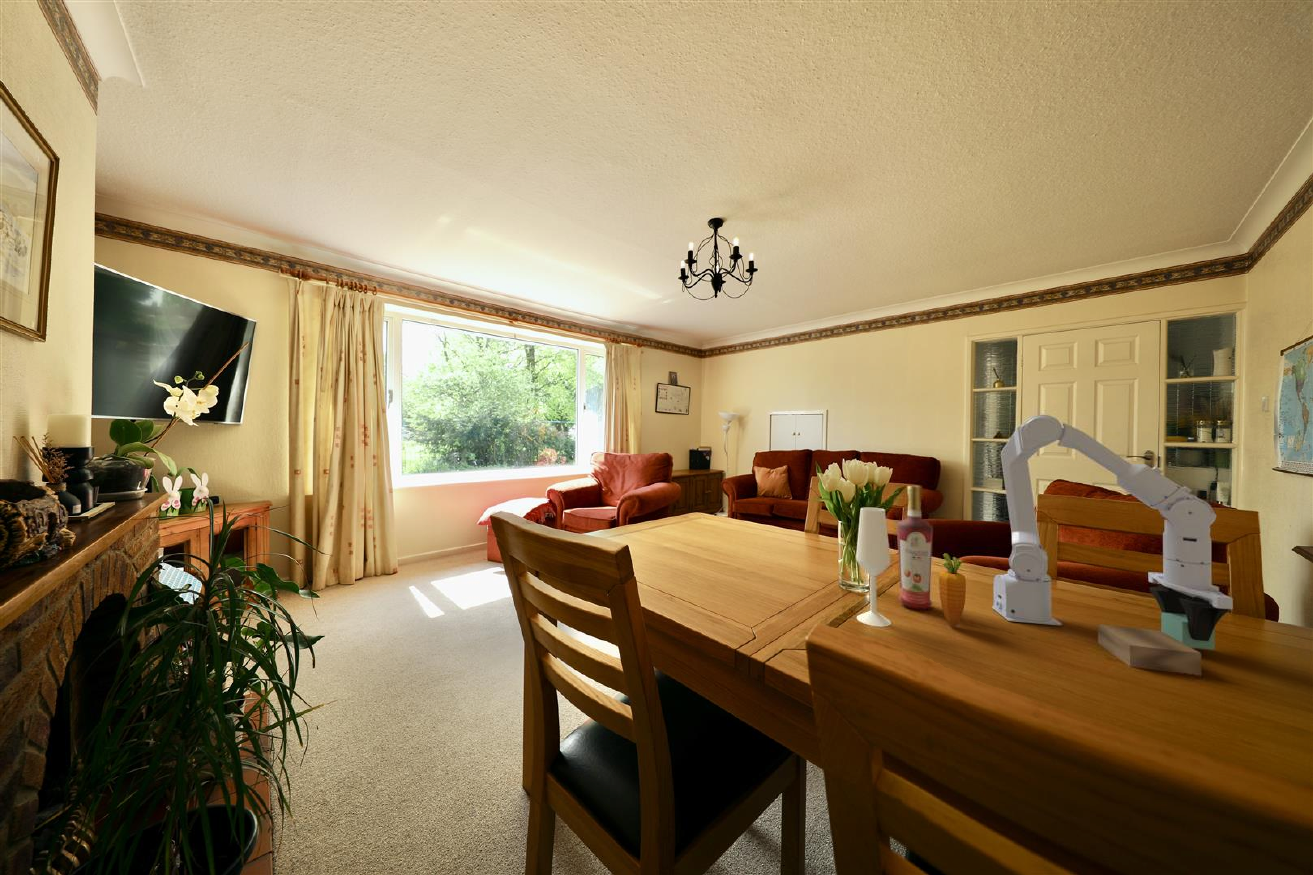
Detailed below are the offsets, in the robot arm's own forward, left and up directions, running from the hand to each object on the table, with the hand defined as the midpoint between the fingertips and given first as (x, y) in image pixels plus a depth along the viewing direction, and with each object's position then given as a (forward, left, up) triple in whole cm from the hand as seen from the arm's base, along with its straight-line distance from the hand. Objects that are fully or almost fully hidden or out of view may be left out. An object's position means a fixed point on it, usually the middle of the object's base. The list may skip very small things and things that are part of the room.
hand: (1187, 633), depth 81 cm
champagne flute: (-53, 0, -3) cm, 53 cm away
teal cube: (0, 0, -2) cm, 2 cm away
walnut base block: (-10, -6, -3) cm, 12 cm away
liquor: (-42, +11, -3) cm, 44 cm away
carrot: (-38, 0, -3) cm, 38 cm away
